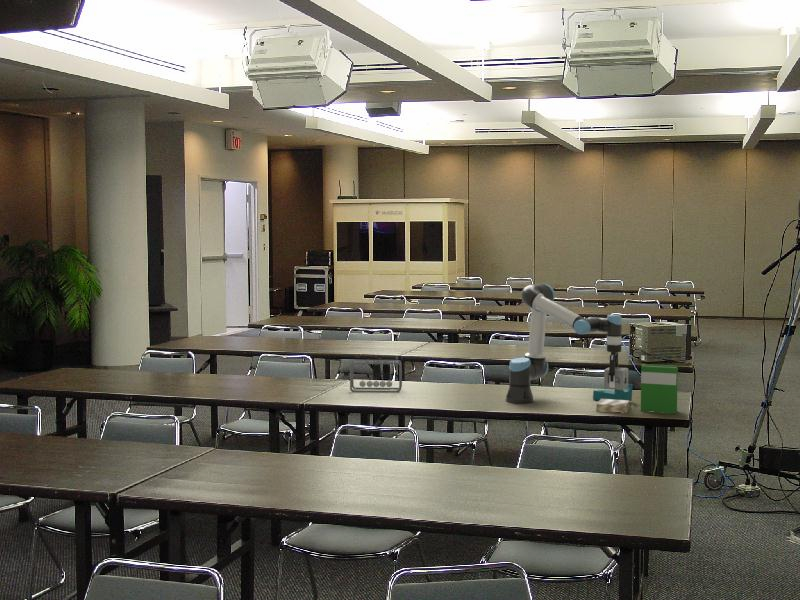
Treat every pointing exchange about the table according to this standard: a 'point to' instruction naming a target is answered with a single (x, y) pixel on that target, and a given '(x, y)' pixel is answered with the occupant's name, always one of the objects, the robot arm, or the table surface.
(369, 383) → the newton's cradle
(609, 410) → the plinth
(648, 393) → the green cereal box
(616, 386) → the icon cube
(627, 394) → the teal tape dispenser
